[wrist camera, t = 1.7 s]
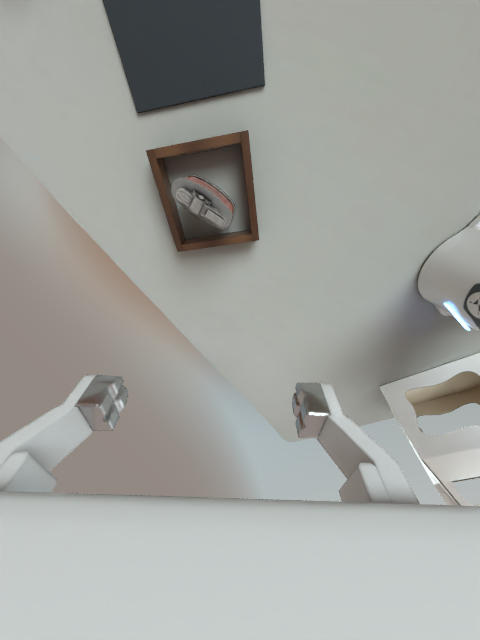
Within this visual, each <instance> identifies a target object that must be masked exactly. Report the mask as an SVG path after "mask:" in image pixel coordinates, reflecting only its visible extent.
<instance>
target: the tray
mask: <svg viewBox="0 0 480 640" xmlns="http://www.w3.org/2000/svg"><path fill="white" fill-rule="evenodd" d="M239 144H241V146H242V154H243V163H244V172H245V180H246V189H247V198H248V206H249V215H250V224H251V230H246V231H239V232H232V233H226V234H219V235H212V236H206V237H199V238H192V239H186V238H185V235H184V231H183V228H182V224H181V221H180V217H179V214H178V210H177V206H176V203H175V199H174V197H173V195H172V193H171V185H170V182H169V178H168V175H167V171H166V167H165V164H164V160H163V159H166V158H171V157H176V156H182V155H187V154H192V153H197V152H202V151H207V150H213V149H218V148H223V147H228V146H233V145H239ZM146 152H147V156H148V159H149V162H150V165H151V168H152V172H153V175H154V178H155V181H156V184H157V188H158V191H159V194H160V197H161V200H162V204H163V207H164V210H165V213H166V216H167V220H168V223H169V226H170V229H171V232H172V236H173V239H174V242H175V245H176V248H177V251H178V252H180V251H187V250H194V249H201V248H208V247H215V246H222V245H229V244H236V243H243V242H249V241H256V240H259V235H258V225H257V214H256V204H255V194H254V184H253V174H252V164H251V154H250V144H249V134H248V130H247V131H242V132H237V133H232V134H227V135H222V136H217V137H212V138H207V139H202V140H197V141H192V142H187V143H182V144H176V145H171V146H166V147H161V148H156V149H151V150H147V151H146Z"/></svg>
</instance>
